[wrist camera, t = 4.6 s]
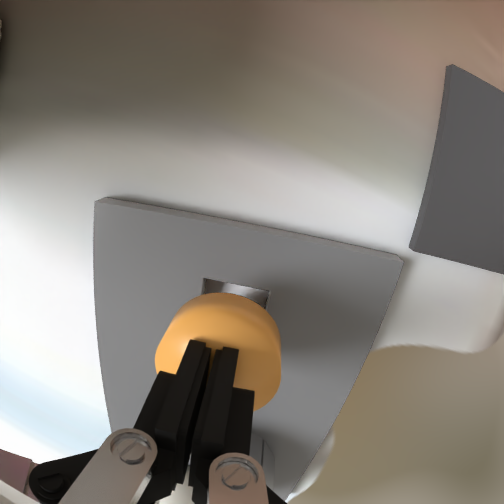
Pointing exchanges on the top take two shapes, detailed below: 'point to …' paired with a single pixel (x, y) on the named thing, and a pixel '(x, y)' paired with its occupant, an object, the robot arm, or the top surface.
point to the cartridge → (180, 493)
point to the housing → (278, 306)
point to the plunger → (228, 340)
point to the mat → (465, 177)
